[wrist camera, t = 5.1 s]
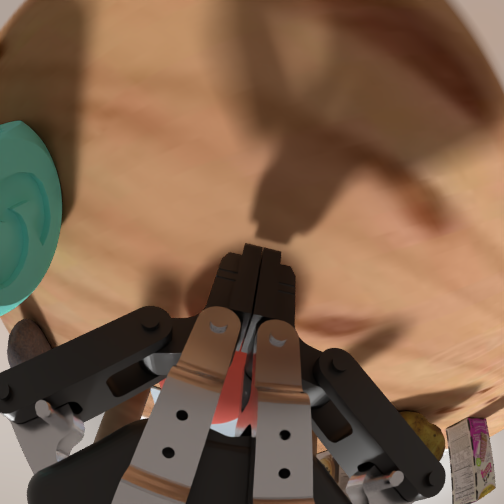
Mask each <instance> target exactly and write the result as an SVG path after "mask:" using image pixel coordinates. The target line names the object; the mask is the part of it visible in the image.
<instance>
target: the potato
mask: <svg viewBox="0 0 504 504" xmlns="http://www.w3.org/2000/svg"><path fill="white" fill-rule="evenodd" d="M399 413H400V414H401V416H402V417H403V418H404V419H405V421H406V422H407V423H408V424H409V425H410V427H411V428H412V429H413V430H414V431H415V433H416V434H417V435H418V436H419V438H420V439H421V440H422V441H423V442H424V444H425V445H426V446H427V447H428V449H429V450H430V451H431V452H432V453H433V455H434V456H435V457H436V458H437V460H438V461H440V460H441V458H442V456H443V453H444V449H445V439H444V436H443V434H442V432H441V429H440V428H439V427H437V426H436V425H434V424H431V423H429V422H428V421H427V419H426V418H425V416H423V415H422V414H420V413H417V412H411V411H403V412H399Z"/></svg>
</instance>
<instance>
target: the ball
mask: <svg viewBox="0 0 504 504" xmlns="http://www.w3.org/2000/svg"><path fill="white" fill-rule="evenodd" d="M242 343H243V341H242ZM241 348H242V344H241V347H240V350H239V351H235V355H234V358H233V361H232V364H231V366H230V367H229V368H228V371H227V375H226V378H225V381H224V385H223V388H222V391H221V394H220V398H219V401H218V404H217V407H216V410H215V414H214V417H213V420H212V423H211V424H221V423H226V422H229V421H232V420H235V419H237V418H238V415H239V405H240V393H241V381H242V371H243V367H244V365H245V362H246V356H247V353H244V352H241ZM165 380H166V378H165V379H164V380H162V381H160V382H159V383H160V387H161V389H162V387H163V384H164V382H165Z"/></svg>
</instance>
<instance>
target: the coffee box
mask: <svg viewBox="0 0 504 504" xmlns="http://www.w3.org/2000/svg"><path fill="white" fill-rule="evenodd" d="M316 457H317V458H318V459H319V460H320V461H321V463H322V464H323V465H324V466H325V468H326V469H327V471H328V472H329V473H330V475H331V476H332V477H333V479H334V480H335V482H336V483H337V484H338V486H339V487H340V488H341V490H342V491H343V492H344V494H345V495H346V496H347V497H348V499H349V500H350V501H351V499H350V498H349V496H348V494H347V493H346V487H347V484H348V481H349V479H350V478H349V476H348V475H347V474H346V473H345V471H344V470H343V469H342V468H341V466H340V465H339V464H338V463H337V461H336V460H335V459H334V458H333V456H332V455H331V454H330V452H329V451H325V452H322V453H319V454H317V455H316ZM351 503H352V502H351Z"/></svg>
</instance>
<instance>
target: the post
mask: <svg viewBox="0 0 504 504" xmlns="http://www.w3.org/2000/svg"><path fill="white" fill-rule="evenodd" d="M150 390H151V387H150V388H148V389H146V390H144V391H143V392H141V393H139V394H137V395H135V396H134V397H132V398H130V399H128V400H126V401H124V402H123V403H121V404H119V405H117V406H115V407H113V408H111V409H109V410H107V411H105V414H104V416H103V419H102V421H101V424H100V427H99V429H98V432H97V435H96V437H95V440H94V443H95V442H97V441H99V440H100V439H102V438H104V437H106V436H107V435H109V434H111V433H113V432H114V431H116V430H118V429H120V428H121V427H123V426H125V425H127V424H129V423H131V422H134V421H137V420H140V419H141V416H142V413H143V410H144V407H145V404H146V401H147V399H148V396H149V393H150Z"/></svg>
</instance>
